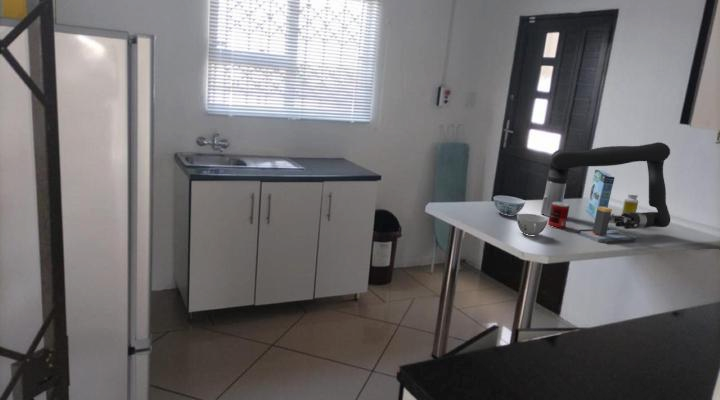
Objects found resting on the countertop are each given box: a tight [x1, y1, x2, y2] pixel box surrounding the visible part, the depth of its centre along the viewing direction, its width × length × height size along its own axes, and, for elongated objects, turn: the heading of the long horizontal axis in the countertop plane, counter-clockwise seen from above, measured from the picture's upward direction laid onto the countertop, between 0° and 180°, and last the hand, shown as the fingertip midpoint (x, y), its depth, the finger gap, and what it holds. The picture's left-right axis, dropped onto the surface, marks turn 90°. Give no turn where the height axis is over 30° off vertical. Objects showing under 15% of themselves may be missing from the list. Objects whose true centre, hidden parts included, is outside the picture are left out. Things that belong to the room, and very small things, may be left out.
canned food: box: [547, 201, 570, 229], centre depth 242 cm, size 8×8×11 cm
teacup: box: [516, 213, 549, 236], centre depth 222 cm, size 15×12×8 cm
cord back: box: [578, 228, 610, 234], centre depth 239 cm, size 18×1×1 cm, turn 114°
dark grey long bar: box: [603, 237, 637, 245], centre depth 226 cm, size 18×1×1 cm, turn 114°
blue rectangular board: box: [579, 229, 634, 243], centre depth 232 cm, size 22×10×2 cm, turn 114°
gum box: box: [585, 169, 615, 220], centre depth 270 cm, size 20×5×23 cm, turn 170°
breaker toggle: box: [592, 207, 613, 235], centre depth 229 cm, size 4×4×12 cm
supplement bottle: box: [620, 192, 639, 216], centre depth 275 cm, size 7×7×13 cm
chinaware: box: [493, 195, 526, 216], centre depth 255 cm, size 15×15×8 cm
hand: (608, 221), depth 230 cm, fingers open, 8 cm apart
